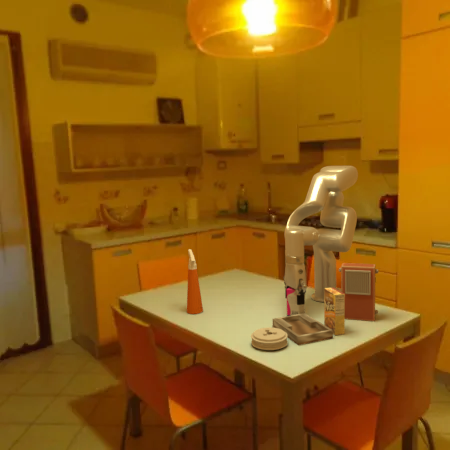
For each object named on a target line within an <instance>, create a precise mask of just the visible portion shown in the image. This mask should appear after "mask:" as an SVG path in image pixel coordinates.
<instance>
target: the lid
mask: <svg viewBox="0 0 450 450" xmlns="http://www.w3.org/2000/svg"><path fill="white" fill-rule="evenodd" d="M250 337H251V342H250V343H251V345H252V346H253V347H254V348H256V349H258V350H262V351H274V350H279V349H283V348H285V347H286V346H288V343H289V342H288V337H287V333H286V332H284V331H283V330H281V329H278V328H274V327H270V326H269V327H261V328H258V329H255V330H254V331H253V332H252V333H251V334H250Z"/></svg>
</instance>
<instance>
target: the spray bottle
mask: <svg viewBox="0 0 450 450" xmlns="http://www.w3.org/2000/svg"><path fill="white" fill-rule="evenodd" d="M187 251H188V252H187V254H188V258H189V259H188V264H187V268H188V270H187V295H186V296H187V297H186V313H187V314H189V315H198V314H202V313H203V312H204V308H203V301H202V295H201V287H200V282H199V281H200V280H199V275H198V268H197V263H196V259H195V255H194V252H193V250H192V249H190V248H189V249H188V250H187Z"/></svg>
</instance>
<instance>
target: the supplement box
mask: <svg viewBox="0 0 450 450" xmlns="http://www.w3.org/2000/svg"><path fill="white" fill-rule="evenodd" d="M286 291H287V299H286V316H291V315H297V314H302V313H305V314H306V303H305V304H303V305H297V295H298V293H297V290H296V289H293V288H291V287H289V288H288V289H286ZM299 291H301V290H299Z"/></svg>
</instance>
